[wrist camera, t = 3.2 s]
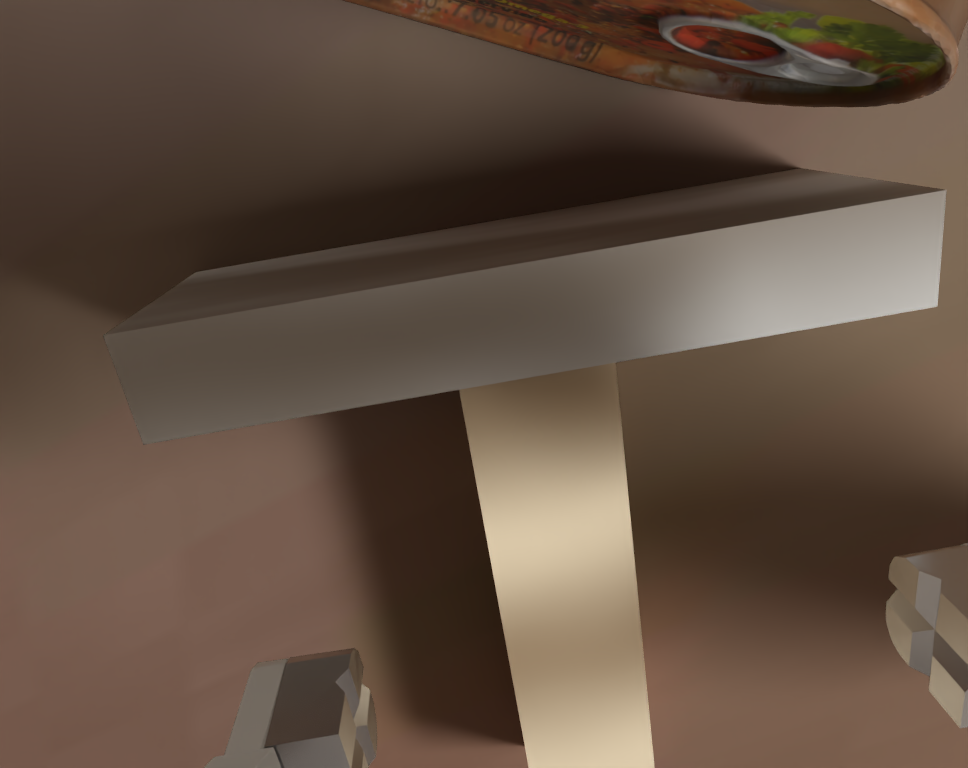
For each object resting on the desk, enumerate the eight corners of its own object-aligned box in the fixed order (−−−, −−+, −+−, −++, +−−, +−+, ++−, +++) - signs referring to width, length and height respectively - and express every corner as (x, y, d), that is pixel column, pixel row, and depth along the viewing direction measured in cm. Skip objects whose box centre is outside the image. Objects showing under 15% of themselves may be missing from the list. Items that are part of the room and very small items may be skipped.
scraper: (796, 696, 22) (894, 852, 17) (353, 776, 22) (332, 954, 17) (798, 167, 16) (946, 189, 12) (197, 271, 16) (103, 335, 12)
